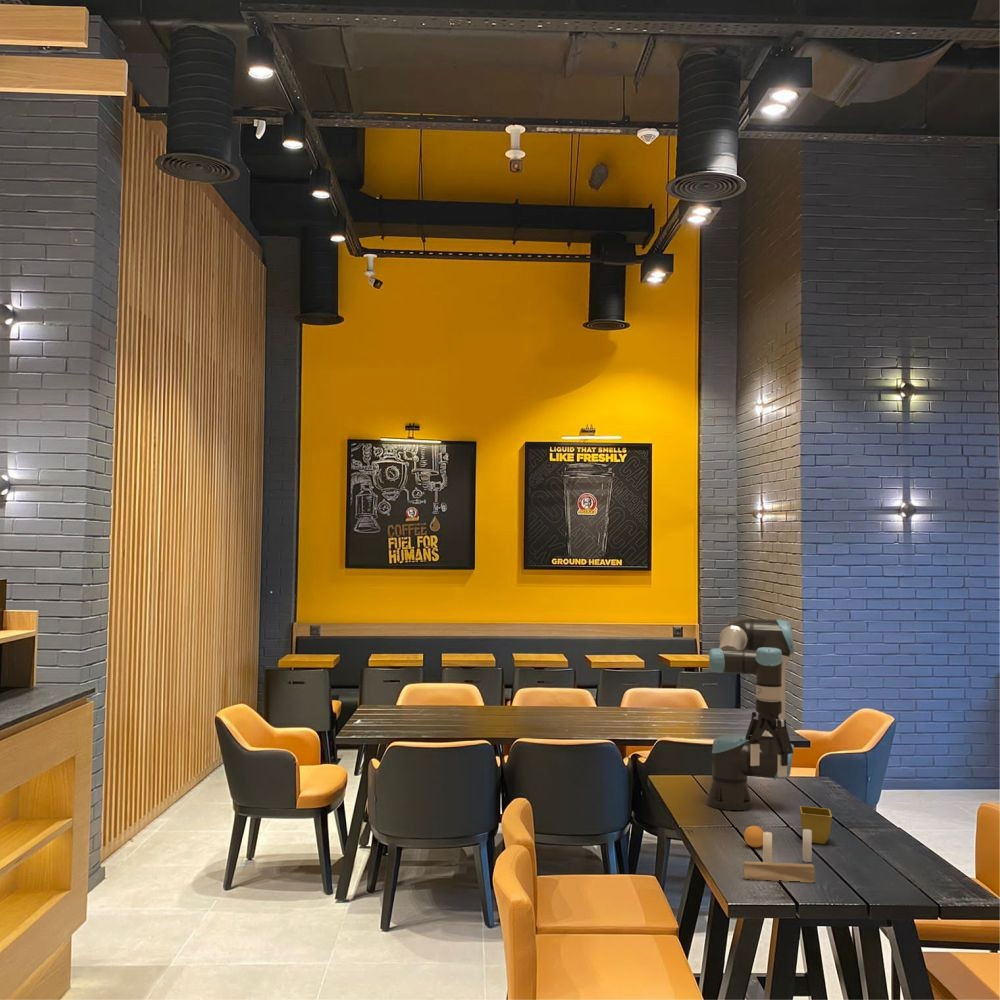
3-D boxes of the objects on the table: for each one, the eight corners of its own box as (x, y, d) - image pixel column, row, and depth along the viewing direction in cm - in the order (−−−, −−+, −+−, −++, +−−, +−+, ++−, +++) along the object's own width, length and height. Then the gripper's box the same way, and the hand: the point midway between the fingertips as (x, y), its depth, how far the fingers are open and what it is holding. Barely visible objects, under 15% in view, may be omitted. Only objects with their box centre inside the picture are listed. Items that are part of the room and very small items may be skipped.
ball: (741, 843, 267) (742, 822, 267) (762, 844, 266) (762, 823, 267) (746, 849, 261) (746, 828, 261) (767, 850, 260) (767, 829, 261)
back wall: (743, 876, 238) (743, 861, 238) (812, 879, 237) (812, 864, 238) (745, 879, 236) (745, 864, 236) (814, 882, 235) (814, 866, 236)
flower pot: (829, 838, 274) (829, 808, 274) (832, 847, 265) (832, 816, 266) (799, 835, 276) (799, 805, 277) (800, 844, 268) (800, 813, 268)
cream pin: (761, 862, 250) (762, 831, 250) (770, 863, 250) (770, 831, 250) (764, 865, 247) (764, 834, 248) (772, 866, 247) (773, 834, 248)
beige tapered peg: (801, 859, 253) (801, 828, 254) (810, 860, 253) (810, 829, 254) (804, 862, 251) (804, 831, 251) (812, 862, 251) (812, 831, 251)
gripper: (734, 693, 282) (733, 761, 281) (783, 707, 258) (783, 782, 257) (754, 692, 284) (754, 760, 283) (805, 706, 261) (805, 780, 260)
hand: (768, 771), depth 270 cm, fingers open, 13 cm apart
